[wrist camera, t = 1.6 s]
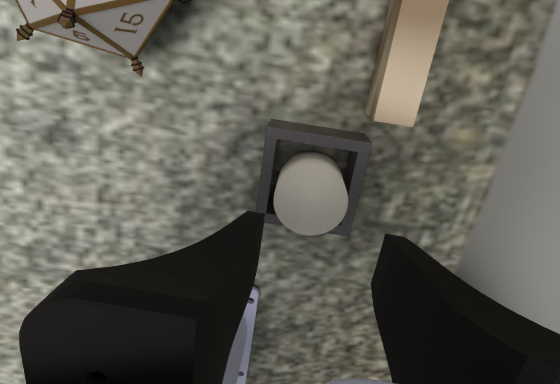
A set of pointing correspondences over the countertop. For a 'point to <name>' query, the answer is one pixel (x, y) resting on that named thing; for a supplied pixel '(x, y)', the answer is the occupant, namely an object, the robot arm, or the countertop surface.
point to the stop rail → (404, 60)
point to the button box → (319, 137)
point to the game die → (97, 23)
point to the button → (310, 194)
